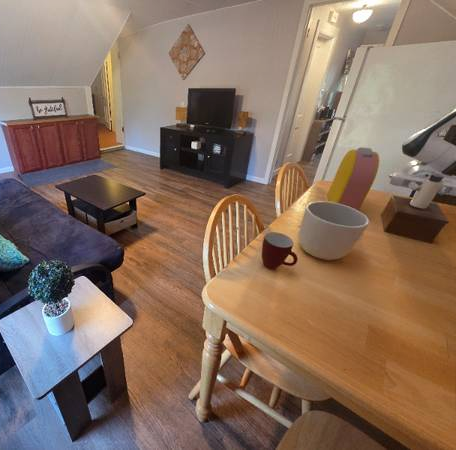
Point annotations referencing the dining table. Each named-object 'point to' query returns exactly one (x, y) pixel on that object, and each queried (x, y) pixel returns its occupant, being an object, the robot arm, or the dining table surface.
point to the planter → (331, 229)
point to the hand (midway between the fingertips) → (429, 190)
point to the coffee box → (409, 225)
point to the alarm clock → (354, 178)
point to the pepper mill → (427, 191)
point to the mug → (277, 250)
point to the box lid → (418, 210)
